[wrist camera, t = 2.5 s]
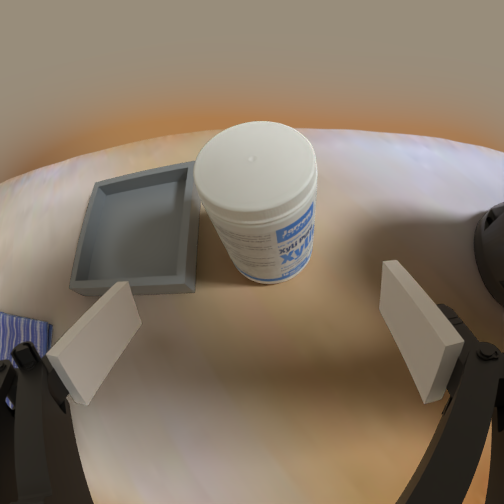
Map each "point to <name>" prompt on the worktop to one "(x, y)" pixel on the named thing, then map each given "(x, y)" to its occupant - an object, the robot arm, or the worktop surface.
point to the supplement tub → (260, 197)
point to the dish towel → (23, 336)
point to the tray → (140, 234)
